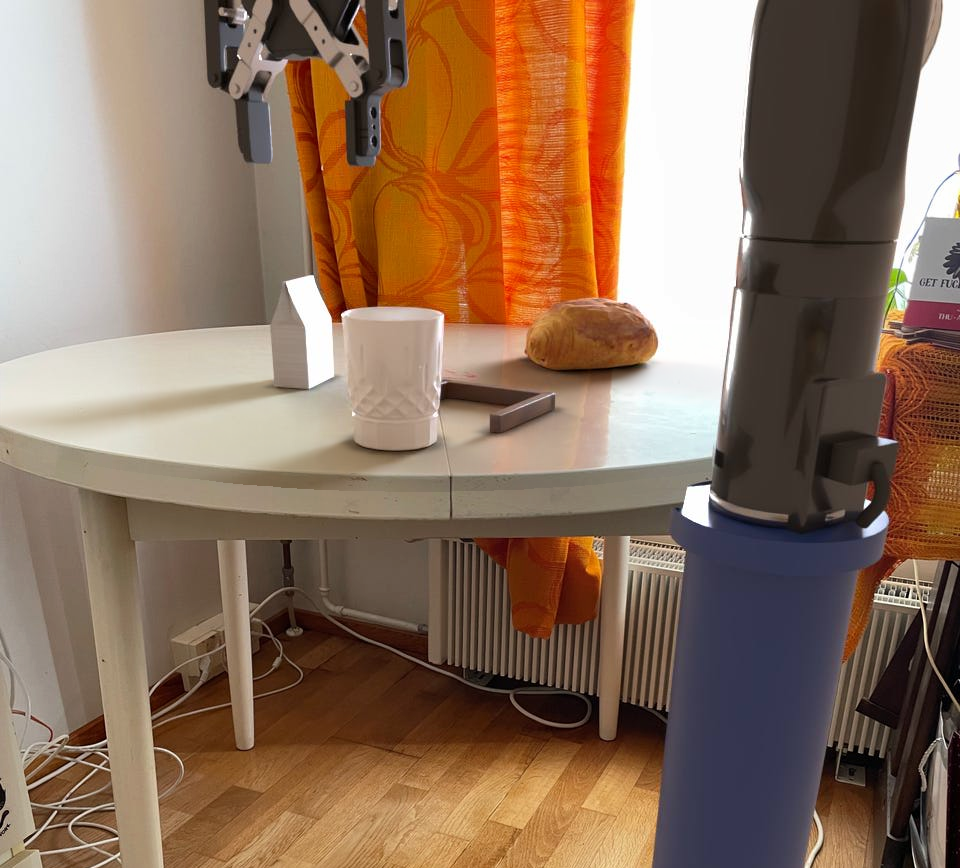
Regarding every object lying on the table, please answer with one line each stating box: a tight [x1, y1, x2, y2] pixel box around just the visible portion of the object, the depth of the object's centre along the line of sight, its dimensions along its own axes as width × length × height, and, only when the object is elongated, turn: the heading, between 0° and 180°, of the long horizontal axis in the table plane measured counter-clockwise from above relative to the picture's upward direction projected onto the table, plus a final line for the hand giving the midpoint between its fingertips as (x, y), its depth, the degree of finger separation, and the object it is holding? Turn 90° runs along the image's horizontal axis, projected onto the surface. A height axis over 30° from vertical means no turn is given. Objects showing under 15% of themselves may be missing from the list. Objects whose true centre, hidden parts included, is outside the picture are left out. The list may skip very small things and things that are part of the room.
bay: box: [440, 378, 556, 434], centre depth 93 cm, size 11×12×2 cm
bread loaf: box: [523, 297, 659, 371], centre depth 116 cm, size 14×16×8 cm
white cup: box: [341, 306, 445, 452], centre depth 81 cm, size 8×8×10 cm
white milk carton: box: [269, 275, 335, 390], centre depth 103 cm, size 4×7×10 cm, turn 166°
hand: (308, 164), depth 67 cm, fingers open, 8 cm apart
